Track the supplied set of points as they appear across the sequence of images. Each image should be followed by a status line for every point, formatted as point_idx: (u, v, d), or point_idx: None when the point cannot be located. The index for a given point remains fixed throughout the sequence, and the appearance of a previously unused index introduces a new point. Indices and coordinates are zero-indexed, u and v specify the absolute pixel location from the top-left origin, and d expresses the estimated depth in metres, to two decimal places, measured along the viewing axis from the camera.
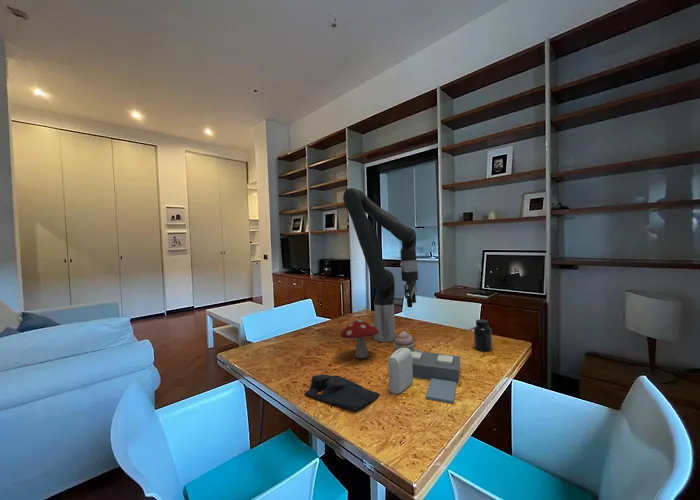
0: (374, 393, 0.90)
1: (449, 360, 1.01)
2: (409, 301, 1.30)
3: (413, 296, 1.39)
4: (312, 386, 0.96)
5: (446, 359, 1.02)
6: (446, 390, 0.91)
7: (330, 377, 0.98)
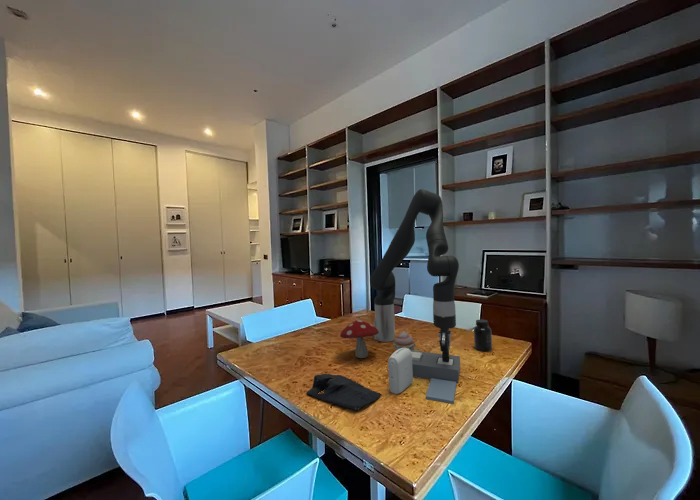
0: (375, 393, 0.90)
1: (449, 363, 1.01)
2: (445, 355, 1.02)
3: None
4: (314, 385, 0.96)
5: (447, 362, 1.02)
6: (446, 390, 0.91)
7: (332, 376, 0.99)
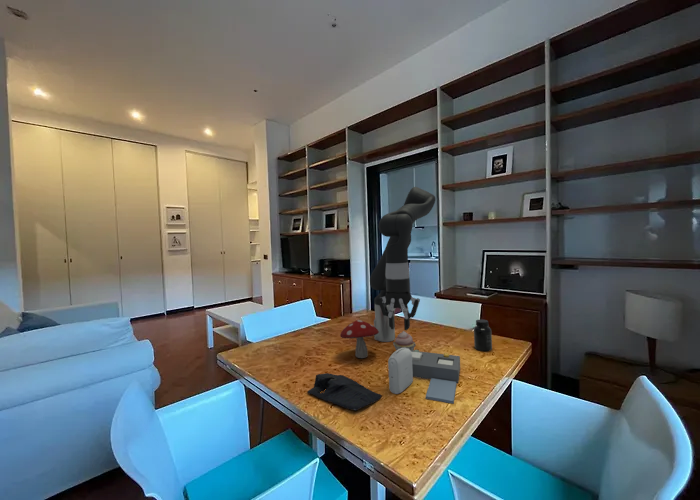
0: (376, 394, 0.89)
1: None
2: None
3: None
4: (315, 384, 0.96)
5: (447, 363, 1.02)
6: (446, 390, 0.91)
7: (334, 376, 0.99)
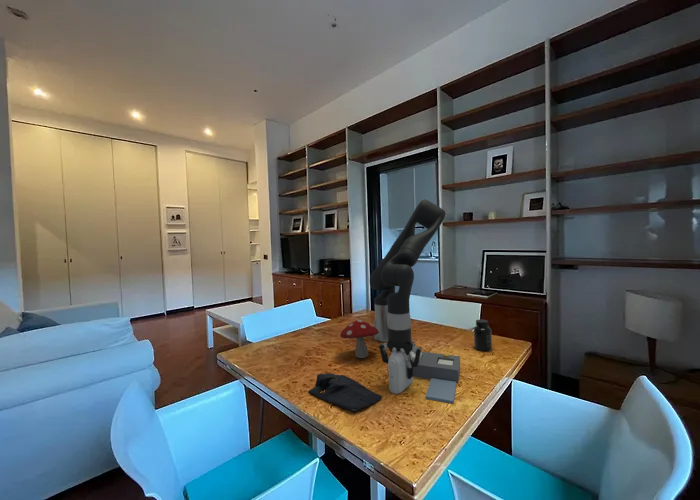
0: (376, 395, 0.88)
1: None
2: None
3: None
4: (317, 384, 0.97)
5: (447, 363, 1.02)
6: (446, 390, 0.91)
7: (335, 376, 0.99)
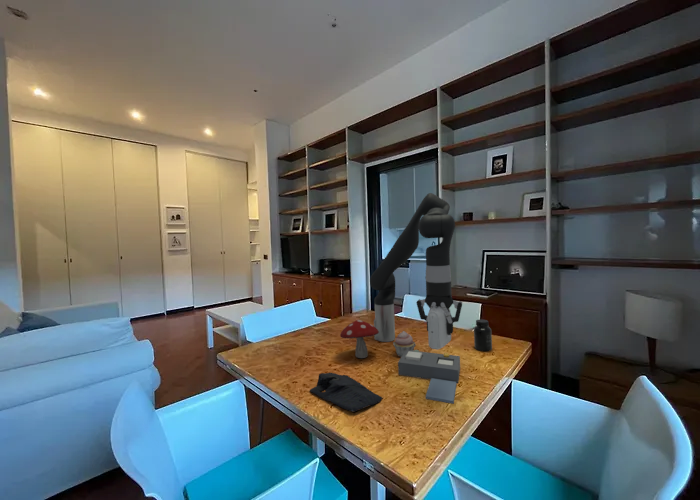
0: (376, 396, 0.88)
1: None
2: None
3: (448, 324, 0.90)
4: (318, 383, 0.97)
5: (447, 363, 1.02)
6: (446, 390, 0.91)
7: (337, 376, 0.99)
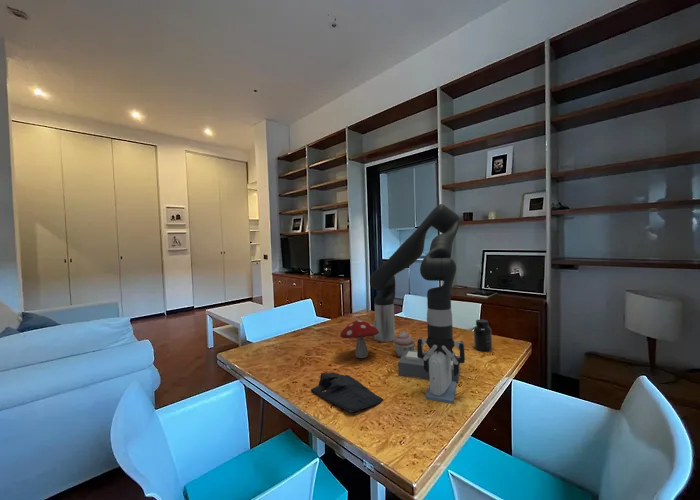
0: (376, 398, 0.87)
1: None
2: (424, 362, 0.93)
3: None
4: (320, 383, 0.97)
5: None
6: (446, 390, 0.91)
7: (338, 376, 0.99)
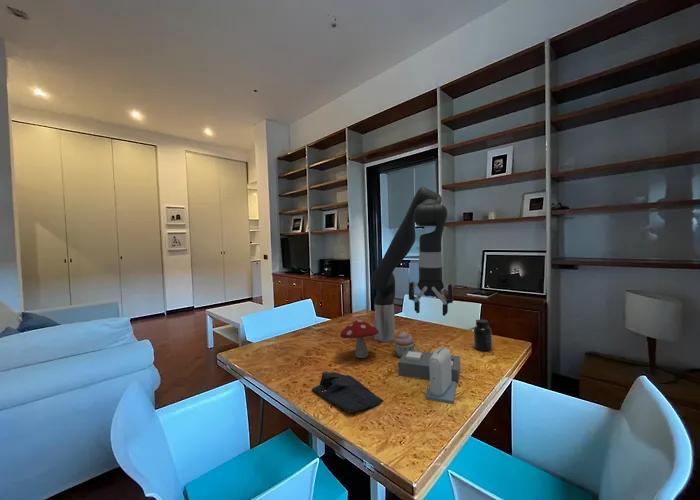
0: (376, 399, 0.87)
1: None
2: None
3: None
4: (321, 383, 0.98)
5: None
6: (446, 390, 0.91)
7: (339, 376, 0.99)
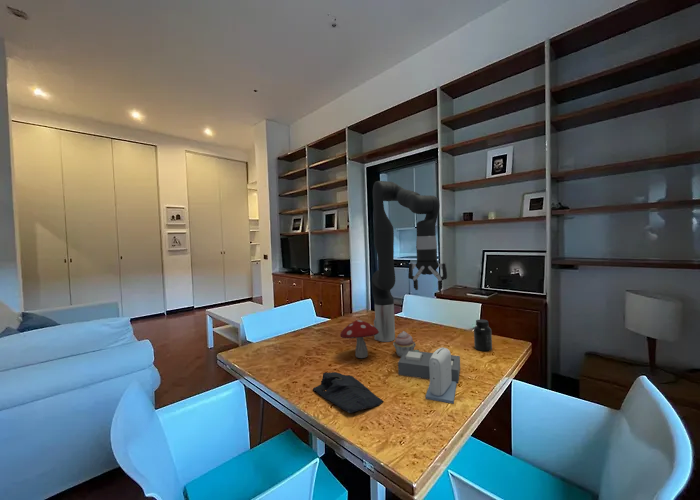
0: (376, 399, 0.86)
1: None
2: None
3: (438, 282, 1.10)
4: (322, 382, 0.98)
5: None
6: (446, 390, 0.91)
7: (340, 376, 0.99)
